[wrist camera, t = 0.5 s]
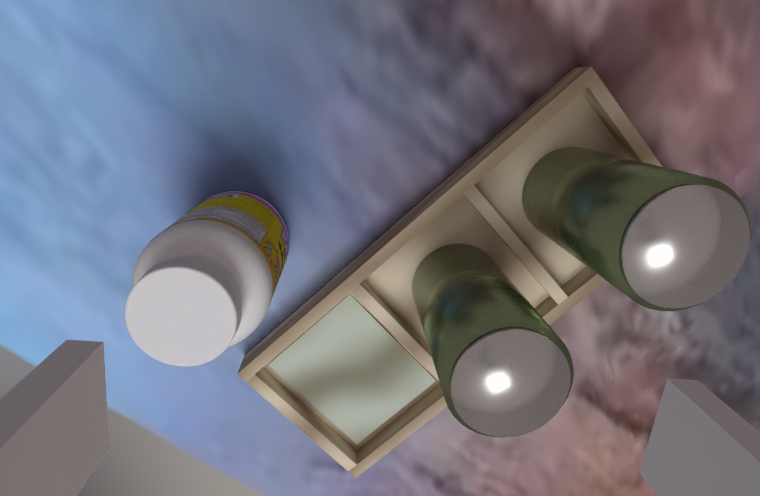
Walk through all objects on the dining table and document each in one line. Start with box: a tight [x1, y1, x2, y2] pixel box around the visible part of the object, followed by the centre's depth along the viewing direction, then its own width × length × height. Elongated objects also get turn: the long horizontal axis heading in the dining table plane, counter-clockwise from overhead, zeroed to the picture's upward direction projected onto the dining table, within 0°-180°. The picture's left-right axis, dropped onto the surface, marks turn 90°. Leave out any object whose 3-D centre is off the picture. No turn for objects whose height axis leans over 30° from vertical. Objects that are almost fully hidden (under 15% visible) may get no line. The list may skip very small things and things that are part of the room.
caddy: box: [238, 66, 662, 478], centre depth 35 cm, size 12×29×2 cm, turn 132°
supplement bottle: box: [125, 191, 289, 366], centre depth 28 cm, size 7×7×13 cm
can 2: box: [522, 147, 750, 311], centre depth 28 cm, size 6×6×12 cm
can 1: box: [412, 244, 573, 437], centre depth 29 cm, size 6×6×12 cm
